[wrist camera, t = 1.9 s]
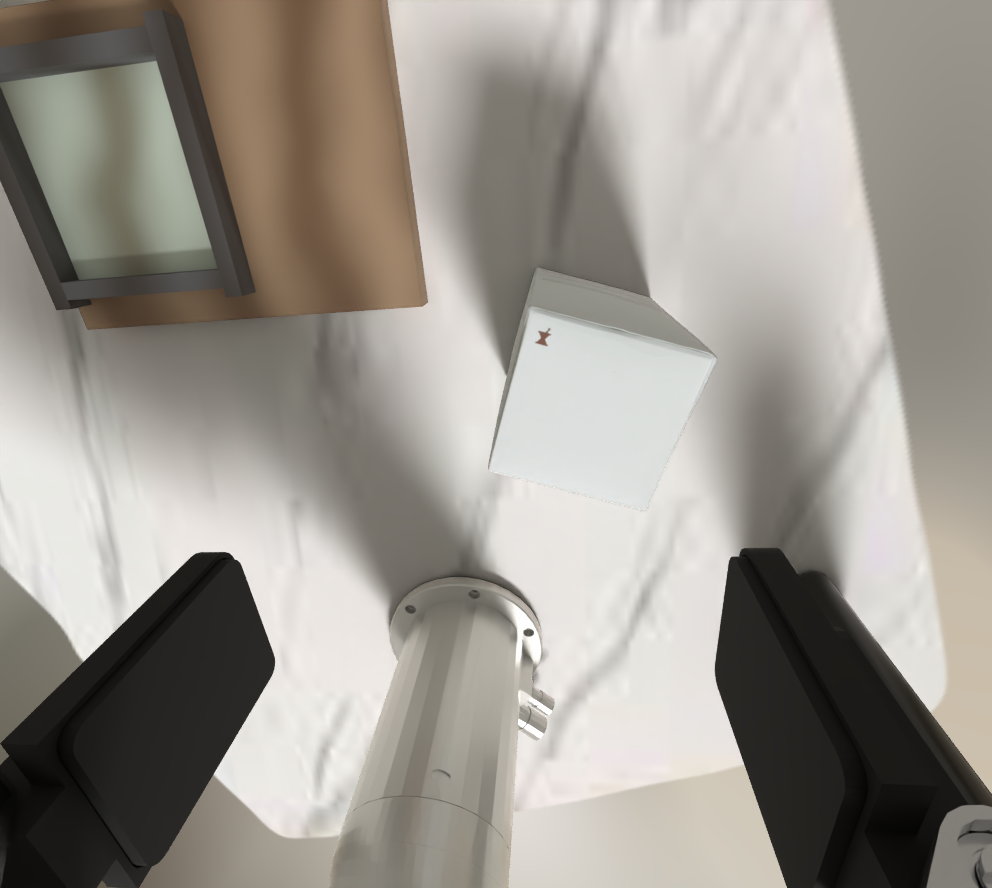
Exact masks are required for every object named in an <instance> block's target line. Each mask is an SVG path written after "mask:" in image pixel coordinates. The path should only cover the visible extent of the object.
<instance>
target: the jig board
mask: <svg viewBox="0 0 992 888" xmlns="http://www.w3.org/2000/svg"><path fill="white" fill-rule="evenodd" d="M0 181H1V183H2V185H3V188H4V190H5V192H6V195H7V197H8V199H9V202H10V204H11V206H12V208H13V211H14V213H15V215H16V218H17V220H18V222H19V225H20V227H21V229H22V231H23V234H24V236H25V238H26V241H27V243H28V245H29V248H30V250H31V252H32V254H33V257H34V259H35V261H36V264H37V266H38V268H39V271H40V273H41V275H42V278H43V280H44V282H45V284H46V287H47V289H48V291H49V294H50V296H51V298H52V301H53V303H54V305H55V307H56V310H63V309H73V308H79V310H80V313H81V315H82V317H83V320H84V322H85V325H86V327H87V329H88V330H89V329H103V328H118V327H132V326H147V325H161V324H176V323H190V322H205V321H219V320H234V319H248V318H263V317H277V316H292V315H306V314H321V313H335V312H350V311H364V310H379V309H393V308H408V307H422V306H424V305H425V304H426V303H428V299H427V292H426V285H425V277H424V270H423V262H422V255H421V247H420V240H419V233H418V225H417V218H416V210H415V203H414V195H413V188H412V181H411V173H410V166H409V158H408V151H407V143H406V136H405V129H404V121H403V114H402V106H401V99H400V92H399V84H398V77H397V69H396V62H395V54H394V47H393V40H392V32H391V25H390V17H389V10H388V2H387V0H50V1H44V2H37V3H31V4H25V5H19V6H12V7H6V8H0Z"/></svg>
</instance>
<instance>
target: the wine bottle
mask: <svg viewBox="0 0 992 888" xmlns="http://www.w3.org/2000/svg"><path fill="white" fill-rule="evenodd" d="M799 578H800V579H801V581H802V582H803V584H804V585H805V587H806V588H807V590H808V591H809V593H810V594H811V596H812V597H813V599H814V600H815V602H816V603H817V605H818V606H819V608H820V609H821V611H822V612H823V614H824V615H825V617H826V618H827V620H828V621H829V623H830V624H831V626H832V627H840V628H842V629H843V630H845V631H847V632H848V634H849V635H850V636H851V637H852V638H853V639H854V641H855V642H856V644H857V645H858V646H859V648H860V649H861V651H862V652H863V654H864V655H865V657H866V658H867V659H868V661H869V662H870V664H871V665H872V667H873V668H874V669H875V671H876V672H877V674H878V675H879V677H880V678H881V679H882V681H883V682H884V684H885V685H886V687H887V688H888V689H889V691H890V692H891V694H892V695H893V697H894V698H895V700H896V701H897V702H898V704H899V705H900V707H901V708H902V710H903V711H904V712H905V714H906V715H907V717H908V718H909V720H910V721H911V722H912V724H913V725H914V727H915V728H916V730H917V731H918V732H919V734H920V735H921V737H922V738H923V740H924V741H925V742H926V744H927V745H928V747H929V748H930V750H931V751H932V753H933V754H934V755H935V757H936V758H937V760H938V761H939V763H940V764H941V765H942V767H943V768H944V770H945V771H946V773H947V774H948V775H949V777H950V778H951V780H952V781H953V783H954V784H955V785H956V787H957V788H958V790H959V791H960V793H961V794H962V796H963V797H964V798H965V800H966V801H967V803H968V804H969V805H985V806H989V807H992V794H991V793H990V791H989V790H988V789H987V787H986V786H985V785H984V783H983V782H982V781H981V779H980V778H979V777H978V775H977V774H976V773H975V771H974V770H973V769H972V767H971V766H970V765H969V763H968V762H967V761H966V759H965V758H964V757H963V755H962V754H961V753H960V751H959V750H958V749H957V747H956V746H955V745H954V743H952V741H951V739H950V738H949V737H948V735H947V734H946V733H945V732H944V730H943V729H942V728H941V726H940V725H939V724H938V722H937V721H936V720H935V718H934V717H933V716H932V714H931V713H930V712H929V710H928V709H927V708H926V706H925V705H924V704H923V702H922V701H921V700H920V698H919V697H918V696H917V694H916V693H915V692H914V690H913V689H912V688H911V686H910V685H909V684H908V682H907V681H906V680H905V678H904V677H903V676H902V674H901V673H900V672H899V670H898V669H897V668H896V666H895V665H894V664H893V662H892V661H891V660H890V659H889V657H888V656H887V655H886V653H885V652H884V651H883V649H882V648H881V647H880V645H879V644H878V643H877V641H876V640H875V639H874V637H873V636H872V635H871V633H870V632H869V631H868V629H867V628H866V627H865V625H864V624H863V623H862V621H861V620H860V619H859V617H858V616H857V615H856V613H855V612H854V611H853V609H852V608H851V607H850V605H849V604H848V603H847V601H846V600H845V599H844V597H843V596H842V595H841V593H840V592H839V591H838V590H837V588H836V587H835V586H834V584H833V583H832V582H831V580H830V579H829V578H828V577H827V576H826V575H824V574H823V573H818V572H811V573H806V574H804V575H801V576H799Z"/></svg>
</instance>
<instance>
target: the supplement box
mask: <svg viewBox="0 0 992 888" xmlns="http://www.w3.org/2000/svg"><path fill="white" fill-rule="evenodd" d="M716 361H717V356H716V355H715V354H714V353H713V352H712V351H711V350H709V349H708V348H707V347H706V346H705V345H704V344H703V343H702V342H701V341H700V340H699V339H697V338H696V337H695V336H694V335H693V334H692V333H690V332H689V331H688V330H687V329H686V328H685V327H683V326H682V325H681V324H680V323H679V322H677V321H676V320H675V319H674V318H673V317H672V316H670V315H669V314H668V313H667V312H666V311H665V310H664V309H662V308H661V307H660V306H659V305H658V304H657V303H656V302H655V301H654V300H652V298H649V297H646V296H643V295H640V294H636V293H633V292H630V291H626V290H622V289H619V288H615V287H611V286H608V285H604V284H600V283H597V282H593V281H589V280H585V279H581V278H577V277H573V276H569V275H565V274H562V273H558V272H554V271H550V270H546V269H542V268H536V270H535V273H534V276H533V279H532V282H531V286H530V289H529V293H528V296H527V300H526V303H525V307H524V310H523V314H522V317H521V321H520V324H519V328H518V332H517V335H516V339H515V343H514V347H513V351H512V355H511V360H510V364H509V369H508V373H507V378H506V382H505V387H504V391H503V395H502V400H501V404H500V409H499V414H498V418H497V423H496V428H495V433H494V438H493V443H492V449H491V454H490V459H489V465H488V470H489V471H490V472H493V473H497V474H501V475H505V476H509V477H513V478H517V479H521V480H525V481H529V482H532V483H536V484H540V485H544V486H548V487H552V488H556V489H560V490H563V491H567V492H571V493H575V494H579V495H583V496H587V497H591V498H595V499H598V500H602V501H606V502H610V503H614V504H618V505H622V506H625V507H629V508H633V509H637V510H641V511H647V509H648V506H649V504H650V502H651V500H652V497H653V495H654V493H655V491H656V488H657V486H658V484H659V482H660V479H661V477H662V475H663V473H664V470H665V468H666V466H667V464H668V461H669V459H670V457H671V455H672V453H673V451H674V449H675V446H676V444H677V442H678V440H679V438H680V436H681V434H682V432H683V430H684V428H685V426H686V424H687V421H688V419H689V417H690V415H691V413H692V411H693V409H694V407H695V405H696V403H697V401H698V399H699V397H700V395H701V392H702V390H703V388H704V386H705V384H706V382H707V380H708V378H709V376H710V374H711V372H712V369H713V367H714V365H715V363H716Z"/></svg>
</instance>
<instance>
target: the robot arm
mask: <svg viewBox="0 0 992 888" xmlns="http://www.w3.org/2000/svg"><path fill="white" fill-rule="evenodd" d="M390 643H391V646H392V650H393V653H394V655H395V657H396V659H397V660H398V664H397V667H396V669H395V672H394V675H393V678H392V681H391V684H390V687H389V690H388V693H387V696H386V699H385V702H384V705H383V708H382V711H381V714H380V717H379V720H378V723H377V726H376V729H375V732H374V735H373V738H372V741H371V744H370V747H369V750H368V753H367V756H366V759H365V762H364V765H363V768H362V771H361V774H360V777H359V780H358V783H357V786H356V789H355V792H354V794H353V797H352V800H351V803H350V806H349V809H348V812H347V815H346V818H345V821H344V824H343V827H342V830H341V833H340V836H339V839H338V842H337V845H336V848H335V852H334V856H333V860H332V866H331V873H330V888H508V882H509V865H510V851H511V835H512V819H513V803H514V787H515V771H516V755H517V739H518V730H520V731H521V732H523V733H525V734H526V735H528V736H529V737H531V738H532V739H534V740H538V739H540V738H541V737H542V736H543V734H544V732H545V730H546V727H547V719H546V718H545V717H544V716H542V715H541V714H539V713H538V712H536V711H535V710H533V709H532V708H530V707H529V706H527V707H526V706H525V705H523V704H524V703H526V702H528V703H530V704H531V705H532V706H533V707H534V708H536V709H537V710H539V711H540V712H542V713H543V714H545V715H548V714H550V712H551V711H552V710H553V708H554V703H555V702H554V699H553V698H551V697H550V696H548V695H547V694H545V693H544V692H542V691H541V690H540V691H539V690H538V689H536V688H535V687H534V683H533V681H532V675H533V674H534V673H535V671H536V669H537V667H538V666H539V663H540V660H541V656H542V633H541V629H540V626H539V623H538V620H537V619H536V617H535V615H534V614H533V612H532V611H531V609H530V608H529V607H528V606H527V605H526V604H525V603H524V602H523V601H522V600H521V599H520V598H518V597H517V596H516V595H514V594H513V593H511V592H510V591H508V590H506V589H504V588H502V587H500V586H498V585H496V584H493V583H490V582H487V581H484V580H480V579H474V578H468V577H449V578H443V579H436V580H433V581H430V582H427V583H425V584H422V585H421V586H419V587H417V588H415V589H414V590H412V591H411V592H410V593H409V594H407V595H406V596H405V597H404V598H403V599H402V601H401V602H400V604H399V605H398V607H397V609H396V611H395V613H394V616H393V618H392V621H391V626H390ZM274 667H275V657H274V654H273V651H272V648H271V646H270V643H269V640H268V637H267V635H266V632H265V629H264V626H263V624H262V621H261V618H260V615H259V613H258V610H257V607H256V604H255V602H254V599H253V596H252V593H251V591H250V588H249V585H248V582H247V580H246V577H245V574H244V571H243V569H242V566H241V564H240V562H239V561H237V560H234V558H233V556H232V555H231V554H230V553H226V552H200V553H196V554H195V555H193V556H192V557H191V558H190V559H189V560H188V561H187V562H186V563H185V564H184V565H183V566H181V567H180V568H179V569H178V570H177V571H176V572H175V573H174V574H173V575H172V576H171V577H170V578H169V579H168V580H167V581H166V582H165V583H164V584H163V585H162V586H161V587H160V588H159V589H158V590H157V591H156V592H155V593H154V594H153V595H152V596H151V597H150V598H149V599H148V600H147V601H146V602H145V603H144V604H143V605H142V606H141V607H139V608H138V609H137V610H136V611H135V612H134V613H133V614H132V615H131V616H130V617H129V618H128V619H127V620H126V621H125V622H124V623H123V624H122V625H121V626H120V627H119V628H118V629H117V630H116V631H115V632H114V633H113V634H112V635H111V636H110V637H109V638H108V639H107V640H106V641H105V642H104V643H103V644H102V645H101V646H100V647H99V648H98V649H96V650H95V651H94V652H93V653H92V654H91V655H90V656H89V657H88V658H87V659H86V660H85V661H84V662H83V663H82V664H81V665H80V666H79V667H78V668H77V669H76V670H75V671H74V672H73V673H72V674H71V675H70V676H69V677H68V678H67V679H66V680H65V681H64V682H63V683H62V684H61V685H60V686H59V687H58V688H57V689H56V690H55V691H53V693H51V694H50V696H48V697H47V698H46V699H45V700H44V701H43V702H42V703H41V704H40V705H39V706H38V707H37V708H36V709H35V710H34V711H33V712H32V713H31V714H30V715H29V716H28V717H27V718H26V719H25V720H24V721H23V722H22V723H21V724H20V725H19V726H18V727H17V728H16V729H15V730H14V731H12V733H10V734H9V735H8V736H7V737H6V738H5V739H4V740H3V741H2V742H1V743H0V744H1V745H2V747H3V748H4V749H5V750H6V752H7V753H8V755H9V757H8V758H7V759H6V760H5V761H4V762H3V763H2V764H1V765H0V888H97V887H98V885H99V884H100V882H101V881H102V880H103V882H104V883H105V884H106V886H107V887H117V888H139V887H140V885H141V883H142V882H143V880H144V878H145V877H146V875H147V873H148V872H149V870H150V868H151V867H152V866H154V865H156V864H157V863H159V862H160V861H161V860H162V858H163V857H164V856H165V854H166V853H167V851H168V850H169V848H170V846H171V845H172V843H173V841H174V840H175V838H176V836H177V835H178V833H179V831H180V830H181V828H182V826H183V825H184V823H185V821H186V819H187V818H188V816H189V814H190V813H191V811H192V809H193V808H194V806H195V804H196V803H197V801H198V799H199V798H200V796H201V794H202V793H203V791H204V789H205V788H206V786H207V784H208V782H209V781H210V779H211V777H212V776H213V774H214V772H215V771H216V769H217V767H218V766H219V764H220V762H221V761H222V759H223V757H224V756H225V754H226V752H227V751H228V749H229V747H230V745H231V744H232V742H233V740H234V739H235V737H236V735H237V734H238V732H239V730H240V729H241V727H242V725H243V724H244V722H245V720H246V719H247V717H248V715H249V713H250V712H251V710H252V708H253V707H254V705H255V703H256V702H257V700H258V698H259V697H260V695H261V693H262V692H263V690H264V688H265V687H266V685H267V683H268V681H269V680H270V678H271V676H272V674H273V671H274ZM715 677H716V682H717V686H718V690H719V692H720V695H721V698H722V701H723V704H724V707H725V710H726V713H727V716H728V718H729V721H730V724H731V727H732V730H733V733H734V736H735V739H736V742H737V744H738V747H739V750H740V753H741V756H742V759H743V762H744V765H745V767H746V770H747V773H748V776H749V779H750V782H751V785H752V788H753V791H754V793H755V796H756V799H757V802H758V805H759V808H760V811H761V814H762V817H763V819H764V822H765V825H766V828H767V831H768V834H769V837H770V840H771V843H772V845H773V848H774V851H775V854H776V857H777V860H778V862H779V865H780V868H781V871H782V874H783V877H784V880H785V883H786V886H787V888H992V807H989V806H985V805H969V804H968V803H967V801H966V800H965V798H964V797H963V796H962V794H961V793H960V791H959V790H958V788H957V787H956V785H955V784H954V783H953V781H952V780H951V778H950V777H949V775H948V774H947V773H946V771H945V770H944V768H943V767H942V765H941V764H940V763H939V761H938V760H937V758H936V757H935V755H934V754H933V753H932V751H931V750H930V748H929V747H928V745H927V744H926V742H925V741H924V740H923V738H922V737H921V735H920V734H919V732H918V731H917V730H916V728H915V727H914V725H913V724H912V722H911V721H910V720H909V718H908V717H907V715H906V714H905V712H904V711H903V710H902V708H901V707H900V705H899V704H898V702H897V701H896V700H895V698H894V697H893V695H892V694H891V692H890V691H889V689H888V688H887V687H886V685H885V684H884V682H883V681H882V679H881V678H880V677H879V675H878V674H877V672H876V671H875V669H874V668H873V667H872V665H871V664H870V662H869V661H868V659H867V658H866V657H865V655H864V654H863V652H862V651H861V649H860V648H859V646H858V645H857V644H856V642H855V641H854V639H853V638H852V637H851V636H850V635H849V634H848V632H847V631H845V630H843V629H842V628H840V627H832V626H831V624H830V623H829V621H828V620H827V618H826V617H825V615H824V614H823V612H822V611H821V609H820V608H819V606H818V605H817V603H816V602H815V600H814V599H813V597H812V596H811V594H810V593H809V591H808V590H807V588H806V587H805V585H804V584H803V582H802V581H801V579H800V578H799V576H798V575H797V573H796V572H795V570H794V569H793V567H792V566H791V564H790V563H789V561H788V560H787V558H786V557H785V555H784V554H783V552H782V551H781V550H780V549H778V548H744V549H742V550H741V552H740V555H739V557H731V558H730V560H729V565H728V572H727V580H726V587H725V595H724V602H723V609H722V617H721V624H720V631H719V639H718V646H717V654H716V661H715Z"/></svg>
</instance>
